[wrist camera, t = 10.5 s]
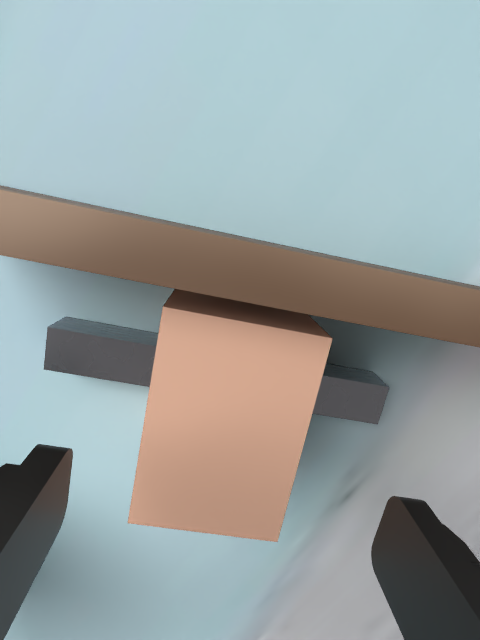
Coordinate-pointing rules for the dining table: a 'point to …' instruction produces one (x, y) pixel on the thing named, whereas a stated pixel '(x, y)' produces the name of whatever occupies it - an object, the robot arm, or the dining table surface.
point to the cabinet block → (226, 416)
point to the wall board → (234, 267)
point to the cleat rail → (138, 358)
